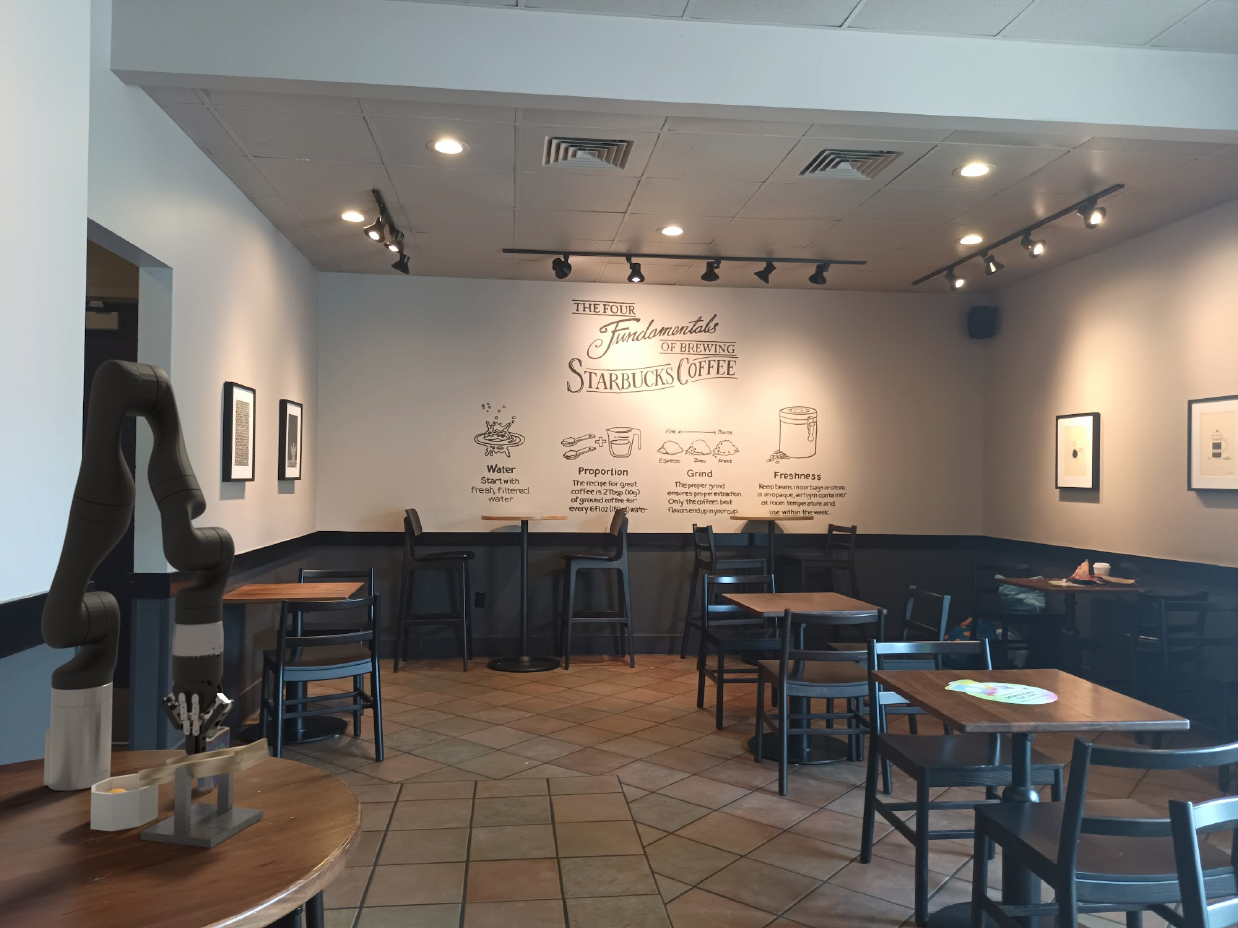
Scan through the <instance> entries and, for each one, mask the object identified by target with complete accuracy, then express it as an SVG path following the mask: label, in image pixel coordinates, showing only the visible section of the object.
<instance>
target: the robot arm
mask: <svg viewBox="0 0 1238 928" xmlns="http://www.w3.org/2000/svg"><path fill="white" fill-rule="evenodd" d="M125 416H127V417H130V416H131V417H143V418H144V419H145V420H146V423H147V424H148V425H149V427H150V430H151V433H152V437H153V438H152V439H153V443H152V450H151V452H150V457H149V461H148V466H147V475H146V476H147V481H148V485H149V488H150V491H151V494H152V497H153V498H154V501H155V504H156V507H157V510H158V511H159V513H160V522H161V523H160V524H161V525H160V527H161V536H162V538H161V539H162V551H163V555H164V558H165V559H166V562H167V563H168V564H169V566H170V567H172V568H173V569H175V570H177V571H179V572H181V573H182V572H183V573H185V572H187V573H188V572H197V574H196V576H195V579H194V581H193V582H191V583H189V584H188V585H185V586H182V587H181V588H179V589H178V590H177V591H176V594H175V602H174V603H175V604H174V626H173V627H174V628H173V634H172V643H171V644H172V646H171V647H172V648H171V649H172V651H171V652H172V653H171V658H172V659H171V679H172V681H173V682H174V683H173V686H172V688H171V693H169V694H168V695H167V696H165V697H162V698H160V699H159V701H158V703H159V705H160V707H161V708H162V710H163V712H164V713H165V715H166V717H167V718H168V720H169V722H170V723H171V725H172V726H173V728H174V730H176V731H179V730H180V731H181V732H183V734H184V735H185V739H184V741H185V744H184V745H185V748H184V749H185V750H184V751H185V754H186V756H187V755H193V754H199V753H205V751H206V738H207V734H208V732H209V731H210V730H213V729H216V728H218V727H220V726H221V724H222V722H223V721H224V720H225V718H226V717H227V715H228V714H229V713H230V711H231V710H232V709H233V707H234V706H235V705H236V703H235V700H234V699H233V698H231V699H228V698H227V697H226V696H225V695H224V694H223V691H224V690H223V687H222V684H221V679H222V677H223V675H224V643H225V641H224V637H225V635H224V626H223V604H224V603H223V599H224V598H223V597H224V594H225V591H226V587H227V584H228V582H229V581H228V580H229V577H230V574H231V570H232V568H233V564H234V559H235V556H236V555H235V552H236V549H235V546H236V545H235V542H234V540H233V537H232V535H231V533H230V532H229V531H228V530H227V529H225V528H223V527H221V526H220V527H219V526H206V527H203V526H201V527H195V526H194V525H193V521H194V520H196V519H197V518H199V517H201V516H202V515H203V514H204V513H205V511H206V509H207V502H206V501H207V500H206V498H205V495H204V494H203V490H202V489H201V486H200V483H199V481H198V479H197V476H196V474H195V472H194V469H193V467H192V463H191V461H190V458H189V455H188V452H187V448H186V442H185V438H184V433H183V427H182V423H181V422H182V421H181V418H180V413H179V410H178V405H177V400H176V395H175V391H174V387H173V385H172V383H171V380H170V377H169V376H168V374H167V373H166V371H165V369H163V368H161V367H159V366H156V365H153V364H148V363H141V362H136V361H135V362H134V361H126V360H120V359H107V360H105V361H104V362H102V363H101V364H100V365H99V366H98V368H97V370H96V371H95V374H94V376H93V379H92V384H91V387H90V393H89V402H88V412H87V421H86V432H85V438H84V439H85V440H84V444H83V450H82V456H81V461H80V467H79V471H78V476H77V480H76V484H75V486H74V491H73V495H72V498H71V499H72V500H71V504H70V508H69V515H68V520H67V525H66V531H65V536H64V540H63V544H62V547H61V552H60V555H59V560H58V563H57V565H56V566H57V567H56V570H55V573H54V575H53V579H52V581H51V584H50V587H49V590H48V594H47V597H46V600H45V603H44V606H43V610H42V615H41V622H40V623H41V624H40V627H41V635H42V639H43V640H44V642H45V644H46V645H47V646H48V647H50V648H52V649H56V650H59V649H60V650H61V649H70V648H77V647H80V649H79V650H78V652H77V653H76V654H75V655H74V656H73V658H71V659H70V660H68V661H67V662H64V664H61V665H60V666H58V667H57V668H56V669H54V670H53V672H52V674H51V682H50V684H51V685H50V689H51V691H50V692H51V693H50V728H48V729H46V730H45V733H44V765H43V766H44V768H43V770H44V771H43V786H48V788H49V789H51V790H53V791H59V792H61V791H62V792H63V791H64V792H65V791H66V792H67V791H68V792H69V791H77V790H78V791H79V790H84V789H89V788H90V789H91V785H93V784H96V783H98V782H101V781H103V780H106V779H108V778H111V762H112V761H111V759H112V758H111V757H112V730H113V729H112V728H113V727H112V726H113V725H112V723H113V721H112V720H113V683H114V682H113V679H114V673H115V672H114V671H115V669H116V666H117V664H118V653H119V652H118V651H119V639H120V630H121V629H120V628H121V611H120V606H119V603H118V601H117V599H116V598H115V596H114V595H113V594H112V593H110V592H107V591H103V590H102V591H101V590H100V591H99V590H98V591H90V592H87V591H86V590H87V588H88V586H89V585H88V584H89V581H90V580H91V577H92V575H93V574H94V572H95V570H96V569H97V567H98V566H99V565H100V564H101V563H102V562H103V560H105V558H106V557H107V556H108V555H109V554H110V552H111V551H112V550H113V549H114V548H115V547H116V546H117V544H118V543H119V542H120V541H121V540H122V538H123V537H124V535H125V533H126V532H127V530H128V528H129V526H130V523H131V519H132V515H133V510H134V506H135V501H136V494H137V489H136V484H135V481H134V478H133V475H132V473H131V471H130V467H129V466H128V464H127V461H126V459H125V457H124V454H123V450H122V444H121V443H122V441H121V439H122V430H123V423H124V419H125Z"/></svg>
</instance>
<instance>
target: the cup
mask: <svg viewBox="0 0 1238 928" xmlns="http://www.w3.org/2000/svg"><path fill="white" fill-rule="evenodd" d="M159 785H160V784H158V785H152V786H146V787H140V780H139V774H138V773H132V774H126V775H119V776H110V778H108V779H106V780H103V781H101V782H98V783H96V784H93V785H91V787H90V791H91V792H90V818H89V819H90V830H97V831H98V830H99V831H105V832H115V831H121V830H127V829H132V828H133V829H134V828H137V827H141V826H143V825H145V824H147V823H149V822H151V821H153V820H155V819H157V818H159V817H158V815H159ZM114 789H124V790H126V792H120V793H108V792H110V791H111V790H114Z"/></svg>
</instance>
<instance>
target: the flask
mask: <svg viewBox="0 0 1238 928" xmlns="http://www.w3.org/2000/svg"><path fill="white" fill-rule="evenodd" d="M230 735H231V728H230V727H227V726H218V728H216V729H213V730H210V731H209V732H207V738H206V751H205V752H211V751H217V750H220V749H222V748H227V749H228V748H230V737H231V736H230ZM216 788H218V775H214V776H207V777H201V778H197V787H196V792H197V794H200V795H202V794H208V793H209V792H213V791H214V790H215V789H216Z"/></svg>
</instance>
